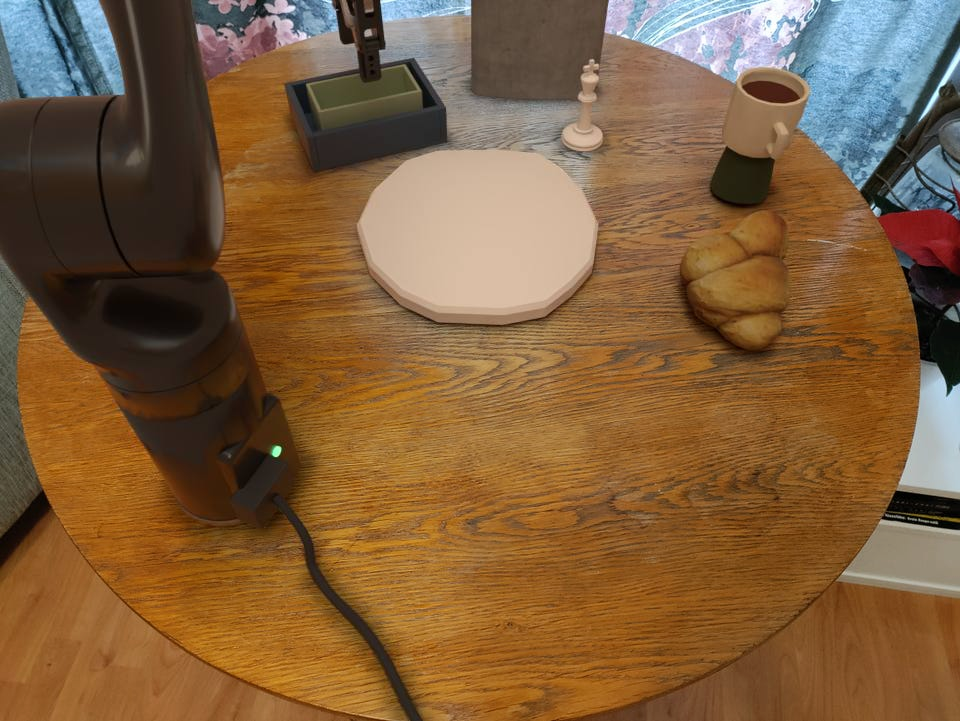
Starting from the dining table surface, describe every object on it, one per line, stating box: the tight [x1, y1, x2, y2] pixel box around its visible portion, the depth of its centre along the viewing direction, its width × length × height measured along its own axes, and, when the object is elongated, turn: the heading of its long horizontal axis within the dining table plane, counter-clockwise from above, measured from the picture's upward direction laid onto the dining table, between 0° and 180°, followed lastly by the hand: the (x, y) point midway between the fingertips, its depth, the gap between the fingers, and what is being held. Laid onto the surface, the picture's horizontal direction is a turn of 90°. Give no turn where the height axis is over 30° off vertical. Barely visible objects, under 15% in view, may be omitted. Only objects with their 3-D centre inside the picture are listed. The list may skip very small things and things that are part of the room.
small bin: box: [306, 64, 423, 131], centre depth 89 cm, size 12×6×5 cm, turn 111°
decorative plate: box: [356, 149, 600, 326], centre depth 78 cm, size 25×4×25 cm
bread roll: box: [678, 209, 792, 351], centre depth 70 cm, size 13×10×8 cm
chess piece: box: [560, 59, 604, 152], centre depth 87 cm, size 5×5×10 cm
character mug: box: [709, 66, 811, 205], centre depth 80 cm, size 11×7×13 cm, turn 6°
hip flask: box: [470, 0, 610, 101], centre depth 89 cm, size 16×4×20 cm, turn 89°
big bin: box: [283, 57, 448, 173], centre depth 90 cm, size 16×12×5 cm
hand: (360, 60), depth 85 cm, fingers open, 8 cm apart
